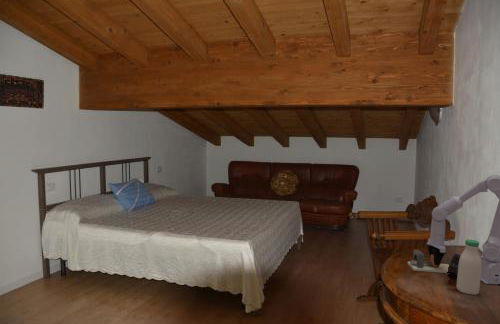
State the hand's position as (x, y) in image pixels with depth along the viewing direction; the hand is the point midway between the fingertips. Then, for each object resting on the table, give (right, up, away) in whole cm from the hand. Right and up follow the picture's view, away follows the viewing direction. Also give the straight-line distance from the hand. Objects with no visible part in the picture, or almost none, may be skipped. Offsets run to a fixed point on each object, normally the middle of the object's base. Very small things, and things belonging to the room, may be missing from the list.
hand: (434, 263), depth 172 cm
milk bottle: (+2, -5, -23) cm, 23 cm away
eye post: (-7, -2, +1) cm, 8 cm away
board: (-1, -2, 0) cm, 3 cm away
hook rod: (-4, -1, 0) cm, 4 cm away
